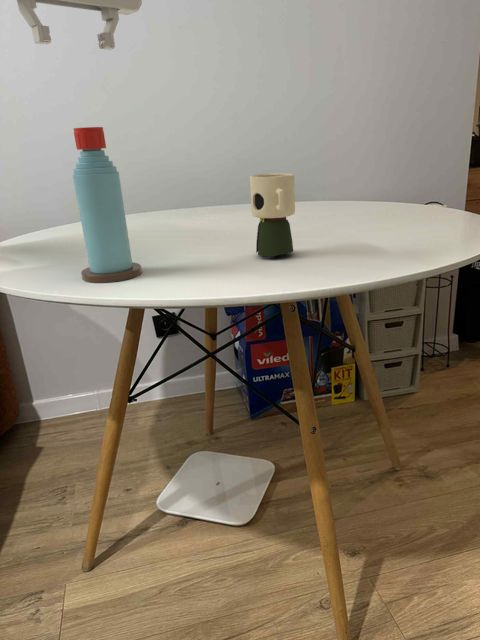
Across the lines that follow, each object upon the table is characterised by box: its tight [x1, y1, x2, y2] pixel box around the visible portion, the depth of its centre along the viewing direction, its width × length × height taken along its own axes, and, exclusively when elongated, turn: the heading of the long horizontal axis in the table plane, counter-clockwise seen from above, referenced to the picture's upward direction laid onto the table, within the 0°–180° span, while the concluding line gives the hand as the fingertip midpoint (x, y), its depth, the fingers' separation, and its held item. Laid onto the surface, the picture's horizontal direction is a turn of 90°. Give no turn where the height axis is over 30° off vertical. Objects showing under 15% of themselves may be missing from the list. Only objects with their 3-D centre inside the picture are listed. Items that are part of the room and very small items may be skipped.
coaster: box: [80, 261, 143, 284], centre depth 78 cm, size 9×9×1 cm
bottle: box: [72, 149, 133, 274], centre depth 74 cm, size 6×6×20 cm
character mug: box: [249, 172, 296, 258], centre depth 82 cm, size 11×7×13 cm, turn 15°
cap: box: [72, 126, 107, 151], centre depth 70 cm, size 4×4×3 cm
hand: (76, 46), depth 66 cm, fingers open, 8 cm apart
